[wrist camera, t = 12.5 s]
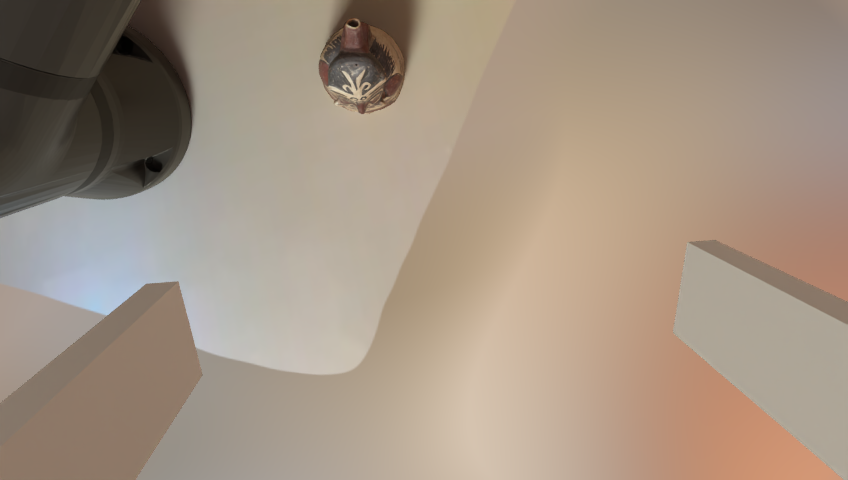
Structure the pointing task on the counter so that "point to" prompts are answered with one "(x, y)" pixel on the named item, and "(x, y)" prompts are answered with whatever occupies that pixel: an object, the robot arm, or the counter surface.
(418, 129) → the counter surface
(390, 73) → the figurine
